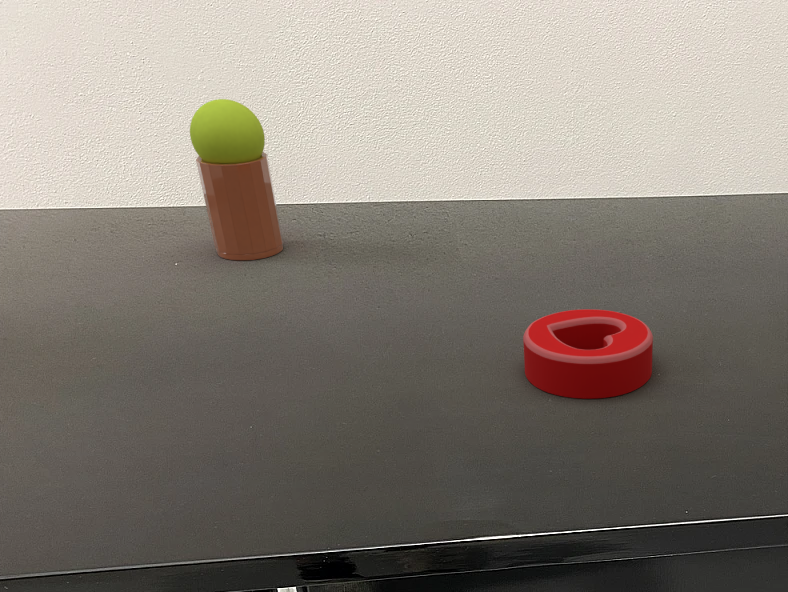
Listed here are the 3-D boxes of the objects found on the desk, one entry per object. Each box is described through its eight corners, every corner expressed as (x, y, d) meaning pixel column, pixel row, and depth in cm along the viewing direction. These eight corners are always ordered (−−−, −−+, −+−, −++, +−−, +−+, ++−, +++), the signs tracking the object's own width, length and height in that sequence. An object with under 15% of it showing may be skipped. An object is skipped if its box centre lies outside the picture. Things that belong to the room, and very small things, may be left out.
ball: (194, 182, 88) (177, 108, 84) (203, 164, 93) (187, 94, 90) (268, 178, 89) (254, 105, 86) (272, 160, 94) (259, 91, 91)
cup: (213, 262, 92) (192, 166, 87) (220, 242, 97) (200, 150, 92) (281, 258, 93) (264, 163, 88) (285, 238, 98) (268, 147, 94)
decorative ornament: (527, 345, 77) (525, 308, 75) (647, 344, 77) (648, 306, 76) (522, 399, 69) (520, 359, 67) (656, 397, 69) (657, 357, 68)
